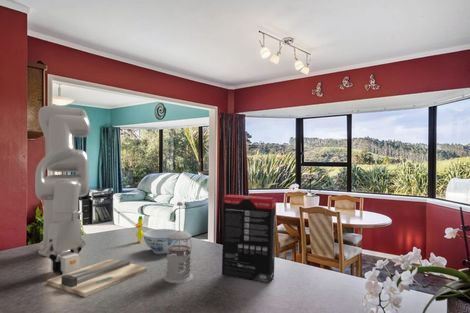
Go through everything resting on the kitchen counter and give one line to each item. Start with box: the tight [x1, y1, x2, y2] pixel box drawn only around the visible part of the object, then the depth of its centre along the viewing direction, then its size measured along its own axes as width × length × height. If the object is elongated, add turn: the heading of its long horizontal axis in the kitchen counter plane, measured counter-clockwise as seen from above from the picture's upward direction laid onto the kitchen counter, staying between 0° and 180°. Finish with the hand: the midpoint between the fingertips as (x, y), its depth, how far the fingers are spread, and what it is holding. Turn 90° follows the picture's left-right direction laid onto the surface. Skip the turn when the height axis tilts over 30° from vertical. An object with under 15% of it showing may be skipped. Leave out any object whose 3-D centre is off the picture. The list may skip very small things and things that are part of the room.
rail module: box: [50, 251, 80, 275], centre depth 108 cm, size 9×5×6 cm, turn 61°
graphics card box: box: [221, 194, 277, 284], centre depth 106 cm, size 17×7×27 cm, turn 71°
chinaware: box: [143, 228, 179, 255], centre depth 133 cm, size 15×15×8 cm
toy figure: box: [135, 215, 145, 244], centre depth 146 cm, size 7×4×12 cm, turn 174°
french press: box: [163, 201, 194, 284], centre depth 106 cm, size 10×12×25 cm
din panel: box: [46, 258, 148, 298], centre depth 104 cm, size 18×24×4 cm
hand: (64, 269), depth 108 cm, fingers closed on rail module, 5 cm apart
